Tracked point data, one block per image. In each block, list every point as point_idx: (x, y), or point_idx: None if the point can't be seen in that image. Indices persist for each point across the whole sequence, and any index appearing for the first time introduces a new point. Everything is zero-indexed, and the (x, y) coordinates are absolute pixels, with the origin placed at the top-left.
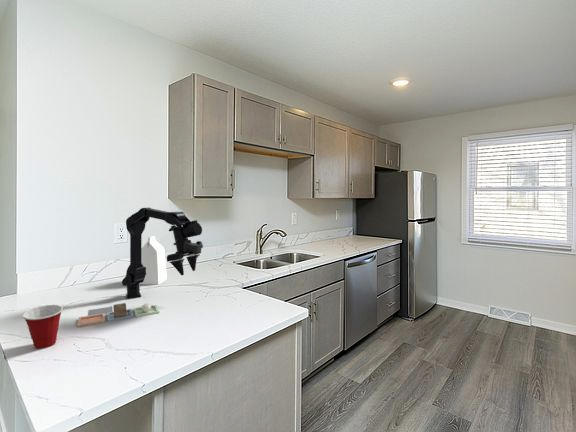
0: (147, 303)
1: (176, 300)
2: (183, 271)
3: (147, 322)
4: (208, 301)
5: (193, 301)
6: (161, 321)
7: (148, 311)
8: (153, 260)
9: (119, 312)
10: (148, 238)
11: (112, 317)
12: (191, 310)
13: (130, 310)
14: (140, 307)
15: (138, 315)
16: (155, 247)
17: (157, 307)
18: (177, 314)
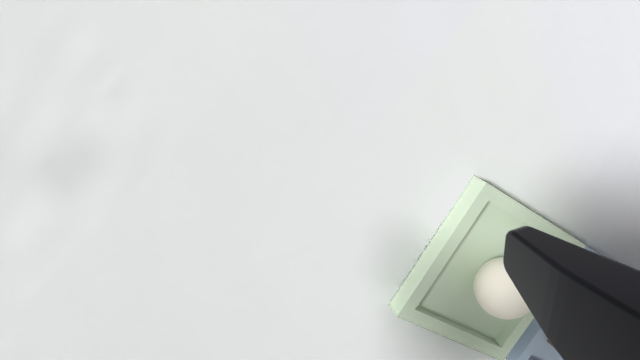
0: (513, 306)
1: (193, 327)
2: (570, 267)
3: (603, 115)
4: (5, 46)
5: (116, 186)
6: (569, 43)
7: (480, 266)
8: None
9: None
10: None
11: None
12: (308, 8)
13: (535, 343)
14: (476, 347)
15: (572, 237)
16: None
17: (433, 262)
18: (429, 48)
